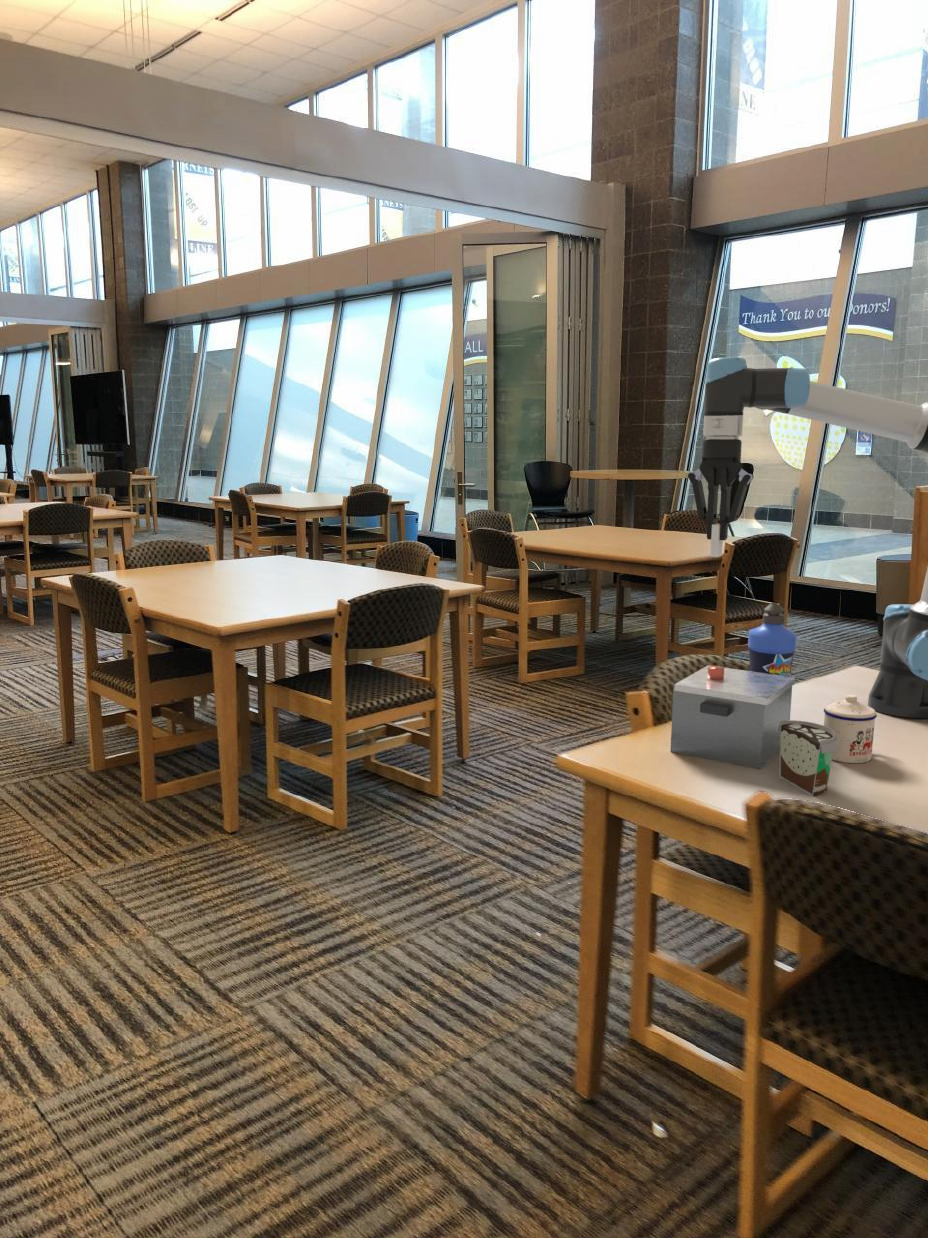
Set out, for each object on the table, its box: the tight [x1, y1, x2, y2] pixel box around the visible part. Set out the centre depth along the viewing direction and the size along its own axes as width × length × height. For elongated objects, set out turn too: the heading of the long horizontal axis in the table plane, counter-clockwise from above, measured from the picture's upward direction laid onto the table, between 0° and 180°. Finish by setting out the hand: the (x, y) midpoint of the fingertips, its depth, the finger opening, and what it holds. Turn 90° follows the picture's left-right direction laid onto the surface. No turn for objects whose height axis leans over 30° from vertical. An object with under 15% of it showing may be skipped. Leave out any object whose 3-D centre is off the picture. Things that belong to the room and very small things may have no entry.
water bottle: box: [747, 602, 798, 720], centre depth 197 cm, size 9×9×25 cm
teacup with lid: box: [823, 694, 878, 764], centre depth 179 cm, size 12×9×12 cm
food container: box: [778, 719, 838, 797], centre depth 164 cm, size 12×6×10 cm, turn 17°
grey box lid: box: [673, 664, 796, 705], centre depth 181 cm, size 17×18×3 cm
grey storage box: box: [670, 686, 793, 770], centre depth 183 cm, size 17×21×12 cm
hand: (716, 555), depth 196 cm, fingers closed
